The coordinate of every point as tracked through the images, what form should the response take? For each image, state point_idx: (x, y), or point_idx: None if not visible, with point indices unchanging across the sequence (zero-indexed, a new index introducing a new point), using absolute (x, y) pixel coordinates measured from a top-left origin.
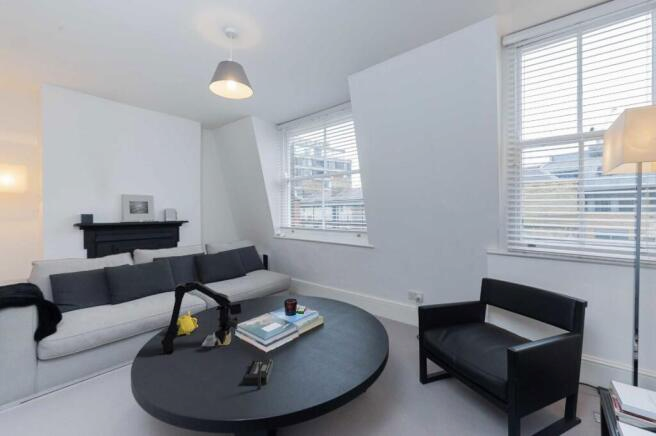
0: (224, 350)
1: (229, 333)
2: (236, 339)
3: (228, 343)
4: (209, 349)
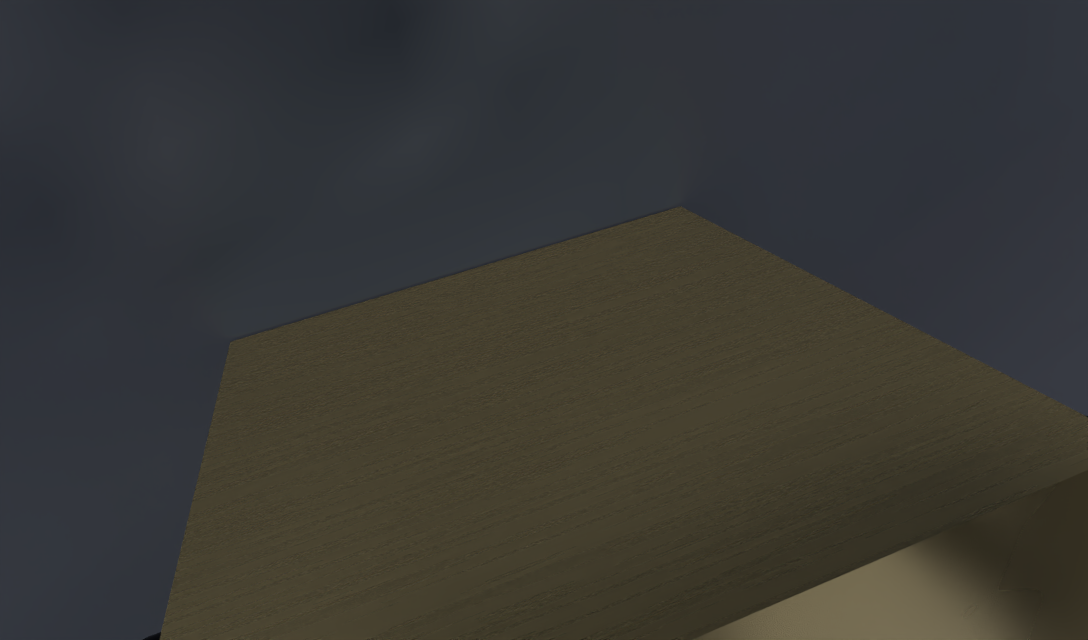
0: (1066, 118)
1: (675, 594)
2: (32, 76)
3: (689, 225)
4: None
